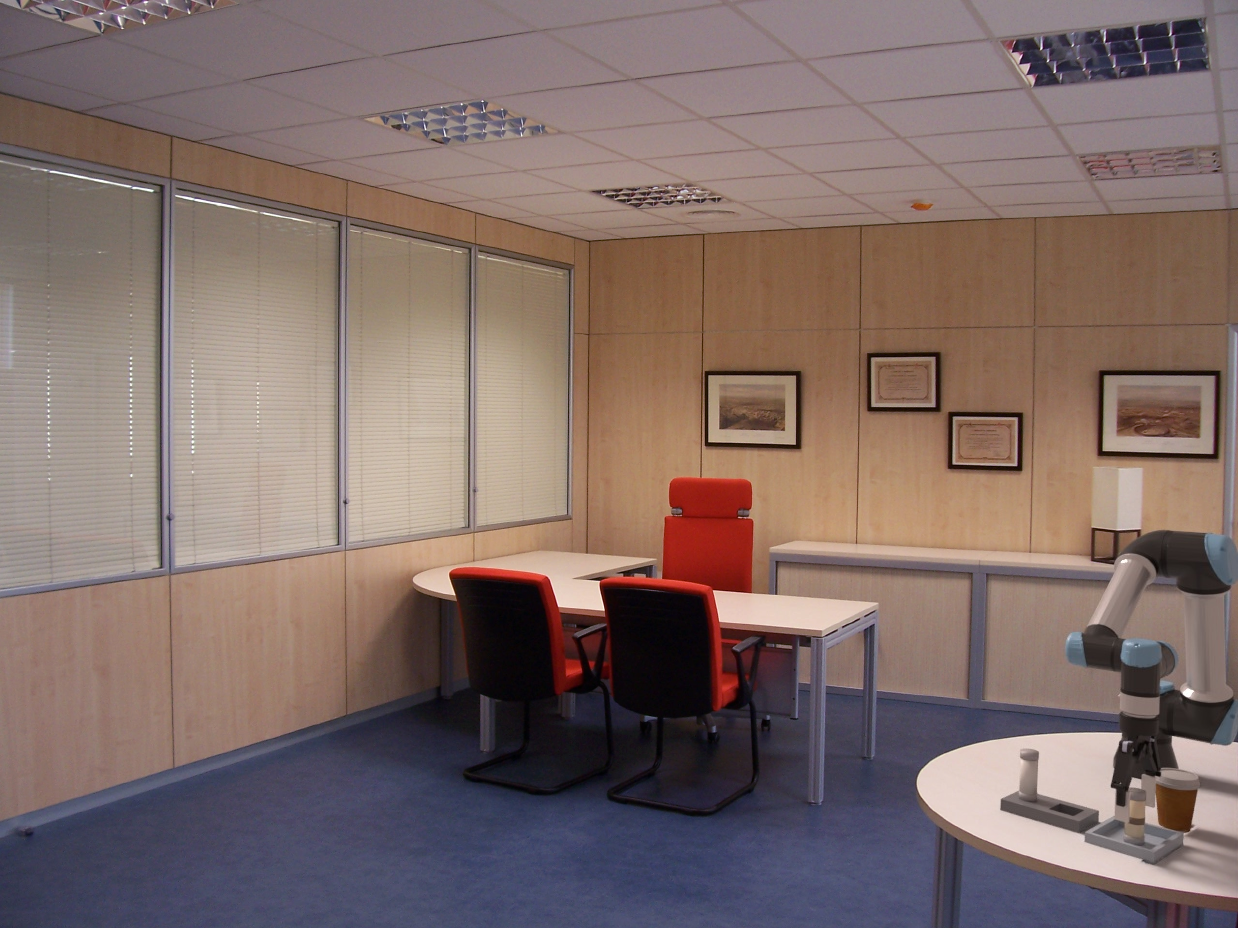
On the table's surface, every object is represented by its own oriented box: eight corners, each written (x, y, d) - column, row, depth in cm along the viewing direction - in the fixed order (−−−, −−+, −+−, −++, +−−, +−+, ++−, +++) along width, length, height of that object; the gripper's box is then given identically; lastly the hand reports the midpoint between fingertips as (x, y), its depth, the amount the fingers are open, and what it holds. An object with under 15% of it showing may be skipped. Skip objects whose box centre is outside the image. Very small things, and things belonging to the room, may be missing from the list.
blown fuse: (1128, 836, 231) (1130, 785, 231) (1147, 842, 228) (1149, 790, 228) (1120, 841, 228) (1122, 789, 228) (1139, 846, 225) (1141, 794, 225)
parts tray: (1115, 825, 239) (1116, 814, 239) (1183, 844, 229) (1183, 832, 228) (1084, 843, 228) (1084, 832, 228) (1153, 864, 218) (1153, 852, 218)
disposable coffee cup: (1197, 839, 232) (1199, 783, 231) (1148, 829, 237) (1150, 775, 236) (1200, 825, 240) (1202, 772, 239) (1152, 816, 245) (1154, 764, 244)
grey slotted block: (1021, 801, 253) (1023, 742, 252) (1098, 823, 240) (1100, 761, 239) (1000, 811, 246) (1002, 751, 245) (1078, 834, 233) (1080, 770, 232)
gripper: (1144, 700, 238) (1140, 795, 239) (1095, 719, 221) (1091, 821, 222) (1180, 707, 233) (1176, 804, 234) (1133, 727, 216) (1129, 832, 217)
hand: (1135, 813), depth 228 cm, fingers open, 13 cm apart
